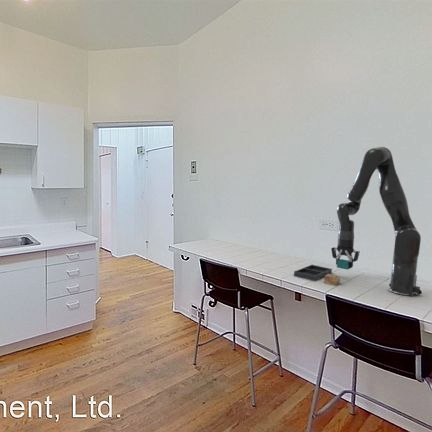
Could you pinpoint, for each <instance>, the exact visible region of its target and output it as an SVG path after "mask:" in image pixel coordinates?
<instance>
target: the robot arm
mask: <svg viewBox="0 0 432 432" xmlns="http://www.w3.org/2000/svg"><path fill="white" fill-rule="evenodd" d="M376 171H377V172H376ZM375 172H376V173H377V174H378V191H379V192H378V193H379V196H380V199H381V202H382V204H383V206H384V208H385V211H386V212H387V214H388V216H389V218H390V219H391V222H392V226H393V231H394V247H393V254H392V265H391V273H390V274H391V275H390V283H389V284H388V287H389V291H390V292H391V293H393V294H397V295H401V296H407V297H413V296H414V295H415V294H417V295H418V296H419V295H421V294H422V293H423V291H422V290H421V287H420V286H418V285H417V279H418V275H417V269H418V260H419V255H420V249H421V241H422V237H421V234H420V232H419V231H418V229H417V227H416V226H415V224H414V222H413V220H412V218H411V215H410V211H409V204H408V200H407V197H406V194H405V191H404V188H403V186H402V184H401V181H400V178H399V176H398V174H397V170H396V167H395V163H394V159H393V154H392V151H391V150H390V148H387V147H386V146H377V147H372V148H370V149H368V150H367V151H366V152H365V154H364V156H363V159H362V162H361V165H360V168H359V170H358V173H357V174H356V178H355V180H354V181H353V183H352V185H351V186H350V189H349V191H348V193H347V194H346V199H347V200H348V202H343V203H339V204H338V205H337V208H336V215H337V218H338V232H337V247H335V246H334V247H331V248H330V249H331V256H332V258H333V259H335V265H336V266H337V261H338V260H340V259H341V258H342V257H343V256H345V257H346V258H347V259H348V260H349V261H350V262H349V268H350V269H352V268H353V267H354V263H355V262H357V261H358V260H359V256H360V253H361V252H360V250H356V249H354V244H355V243H354V242H355V221H354V220H353V219H350V216H355V215H356V214H357V213H358V212H359V210H360V208H361V204H362V199H363V198H364V196H365V194H366V193H367V191H368V189H369V187H370V183H371V178H372V176H373V174H374V173H375ZM337 252H338V253H337Z"/></svg>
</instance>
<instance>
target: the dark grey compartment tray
mask: <svg viewBox="0 0 432 432" xmlns="http://www.w3.org/2000/svg"><path fill="white" fill-rule="evenodd" d="M293 272H294V273H293V276H294V277H297V278H302V279H306V280H310V281H312V282H313V281H317V280H320V279H322V278H325V275H327V274H332V273H333V268H329V267H324V266H321V265H320V266H319V265H316V264H310V265H307V266H305V267H302V268H300V269H296V270H294V271H293Z"/></svg>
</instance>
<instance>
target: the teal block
mask: <svg viewBox="0 0 432 432" xmlns="http://www.w3.org/2000/svg"><path fill="white" fill-rule="evenodd" d="M349 262H350V261H349V259H342V258H340V260H338V261H337V265H336V268H338V269H342V270H350V269H351V268H349Z"/></svg>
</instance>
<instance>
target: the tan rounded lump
mask: <svg viewBox="0 0 432 432" xmlns="http://www.w3.org/2000/svg"><path fill="white" fill-rule="evenodd" d="M340 281H341V275H336V274H332V273H331V274H327V275H325V276H324V281H323V282H324V284H329V285H332V286H337V285H339V284H340Z"/></svg>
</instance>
